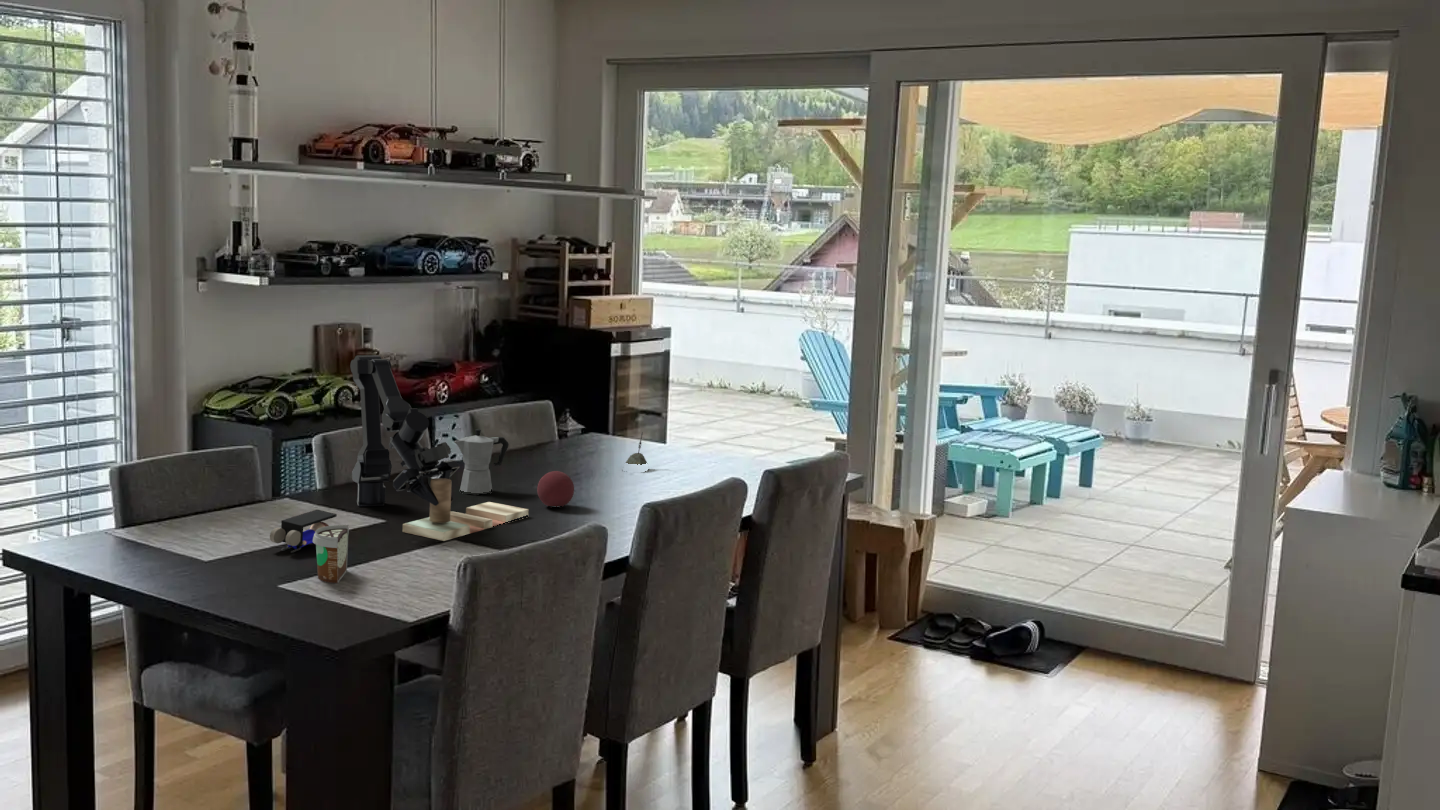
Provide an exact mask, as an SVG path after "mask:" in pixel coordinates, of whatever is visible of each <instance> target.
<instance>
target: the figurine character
mask: <svg viewBox="0 0 1440 810" xmlns="http://www.w3.org/2000/svg"><path fill="white" fill-rule="evenodd" d="M337 515H338V514H337V513H332V512H330V511H329V512H328V511H325V510H320V509H314V510H310V511H308V512H305V513H301V514H298V515H295V516H292V517H288V518H285V519H282V520H281V521H280V522H281V525H280V527H275V528H273V529H272V530H271V532H270V534H269V540H270V541H271V542H272V543H275V544H281V543H286V544H287V545H286V546H285V547H284V546H283V547H282V548H281V549H280V550H281V551H282V552H283V551H287V550H290V549H291V548H292V549H294V550H291V551H290V553H291V554H293V553H296V552H298V551H300V550H301V549H302V548H303V547H305V546H307V545H309V544H314V543H313V537H314V534H315V532H316V530H317V529H319V528H322V527H326V526H330V525H329V524H328V523H326V522H325V521H327V520H331V519H334V518H336V517H337ZM309 526H310V528H308V529H306V530H304V528H305V527H306V528H307V527H309Z"/></svg>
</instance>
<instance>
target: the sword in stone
mask: <svg viewBox="0 0 1440 810" xmlns="http://www.w3.org/2000/svg"><path fill="white" fill-rule="evenodd" d="M643 435H644V434H643V431H642V432H641V435H640V440H639V441H638V448H637V449H638V452H634V453H632V454H631V455H630V456H629V457H628V458H627V460H626V461H625V463H628V464H637V465H638V464H640V465H642V464H646V463H647V464H648V462H647V460H646V458H645V456H644V455H643V453H642V452H641V453H640V450H641V448H642V438H643Z"/></svg>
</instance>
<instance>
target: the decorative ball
mask: <svg viewBox="0 0 1440 810" xmlns="http://www.w3.org/2000/svg"><path fill="white" fill-rule="evenodd" d="M536 490H537V491H536V493H537V496H538V498H539V500H540V501H541V502H542V503H543V504H544V505H545V506H546V505H547V506H546V507H548V506H556V507H557V506H562V507H565V506H566V505H568V504H569V503H570V502H571V500H572V499H573V497H574V495H575V494H574V492H575V484H574V482H573V480H572V479H571V477H570V476H569V475H568V474H567V473H565V472H563V471H560V470H553V471H549V472H547V473H545V474H544V475H543V476H542V477H541V478H540V479H539V481H538V482H537V488H536ZM564 505H565V506H564Z"/></svg>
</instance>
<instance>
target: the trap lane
mask: <svg viewBox="0 0 1440 810" xmlns="http://www.w3.org/2000/svg"><path fill="white" fill-rule="evenodd" d="M526 515H528V516H529V508H523V507H518V506H513V505H508V504H503V503H498V502H491V501H487V502H482V503H478V504H476V505H475V504H474V505H471V506H467V507H465V513H463V512H458V511H457V512H456V511H450V521H449V522H444V523H436V522H431V521H429V516H428V517H424V518H421V519H416V520H412V521H409V522H405V523H402V533H406V534H410V535H415V536H420V537H425V538H428V539H433V540H438V541H443V542H445V541H449V540H452V539H456V538H458V537H463V536H465V535H469V534H473V533H478V532H480V531H484V530H488V529H490V528H494V527H497V525H498V526H500V525H499V524H501V525H504V524H503V523H505V522H508V521H511V520H514V519H517V518H520V517H523V516H526ZM508 523H509V522H508ZM505 524H506V523H505ZM493 526H494V527H493Z"/></svg>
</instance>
